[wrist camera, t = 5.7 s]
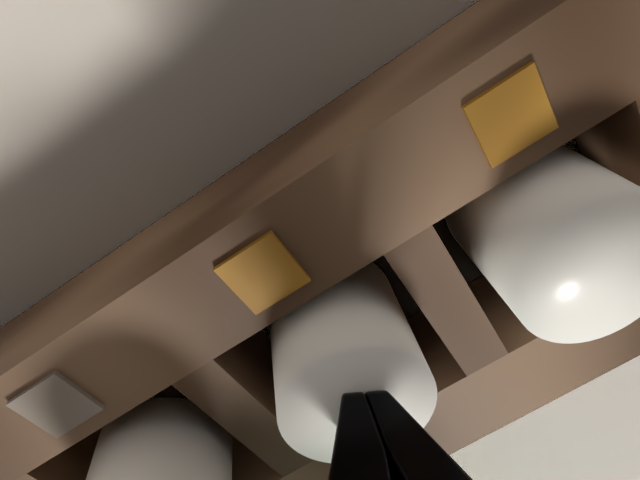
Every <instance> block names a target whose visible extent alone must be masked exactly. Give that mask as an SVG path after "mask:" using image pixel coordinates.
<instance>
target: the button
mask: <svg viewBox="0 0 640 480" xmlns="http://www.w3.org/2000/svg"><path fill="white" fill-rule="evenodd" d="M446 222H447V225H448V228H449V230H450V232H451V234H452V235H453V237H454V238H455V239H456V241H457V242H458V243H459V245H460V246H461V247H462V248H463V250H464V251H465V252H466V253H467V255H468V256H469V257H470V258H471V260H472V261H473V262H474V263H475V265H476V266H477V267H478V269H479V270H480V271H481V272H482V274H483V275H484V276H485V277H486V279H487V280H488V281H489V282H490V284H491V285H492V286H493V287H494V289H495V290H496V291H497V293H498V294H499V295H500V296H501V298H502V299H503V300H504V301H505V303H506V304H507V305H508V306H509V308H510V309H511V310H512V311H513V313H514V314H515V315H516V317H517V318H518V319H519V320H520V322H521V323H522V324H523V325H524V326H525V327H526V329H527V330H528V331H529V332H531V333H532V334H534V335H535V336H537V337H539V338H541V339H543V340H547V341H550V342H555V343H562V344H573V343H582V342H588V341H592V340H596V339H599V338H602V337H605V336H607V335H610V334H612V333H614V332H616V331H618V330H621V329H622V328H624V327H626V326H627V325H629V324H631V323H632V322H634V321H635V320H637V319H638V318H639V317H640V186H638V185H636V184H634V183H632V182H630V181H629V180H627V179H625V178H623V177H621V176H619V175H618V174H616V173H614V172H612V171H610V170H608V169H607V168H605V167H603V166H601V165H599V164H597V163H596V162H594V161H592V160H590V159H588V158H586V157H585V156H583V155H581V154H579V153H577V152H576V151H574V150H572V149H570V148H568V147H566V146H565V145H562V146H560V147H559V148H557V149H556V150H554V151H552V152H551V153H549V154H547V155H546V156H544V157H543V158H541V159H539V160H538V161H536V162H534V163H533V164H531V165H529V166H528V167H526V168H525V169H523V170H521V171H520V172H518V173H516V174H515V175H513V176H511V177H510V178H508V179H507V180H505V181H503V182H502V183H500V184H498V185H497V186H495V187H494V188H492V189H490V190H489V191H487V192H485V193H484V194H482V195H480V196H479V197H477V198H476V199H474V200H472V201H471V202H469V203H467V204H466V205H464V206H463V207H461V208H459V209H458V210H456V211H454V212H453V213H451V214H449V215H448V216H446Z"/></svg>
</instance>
